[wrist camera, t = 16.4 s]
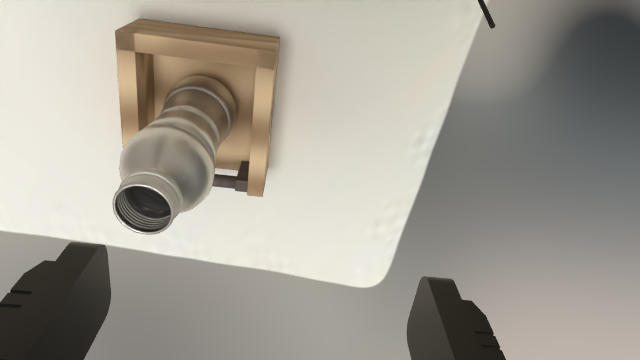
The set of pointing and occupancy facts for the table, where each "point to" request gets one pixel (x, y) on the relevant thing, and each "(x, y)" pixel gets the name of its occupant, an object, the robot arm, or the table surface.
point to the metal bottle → (174, 155)
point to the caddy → (212, 61)
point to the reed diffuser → (486, 13)
